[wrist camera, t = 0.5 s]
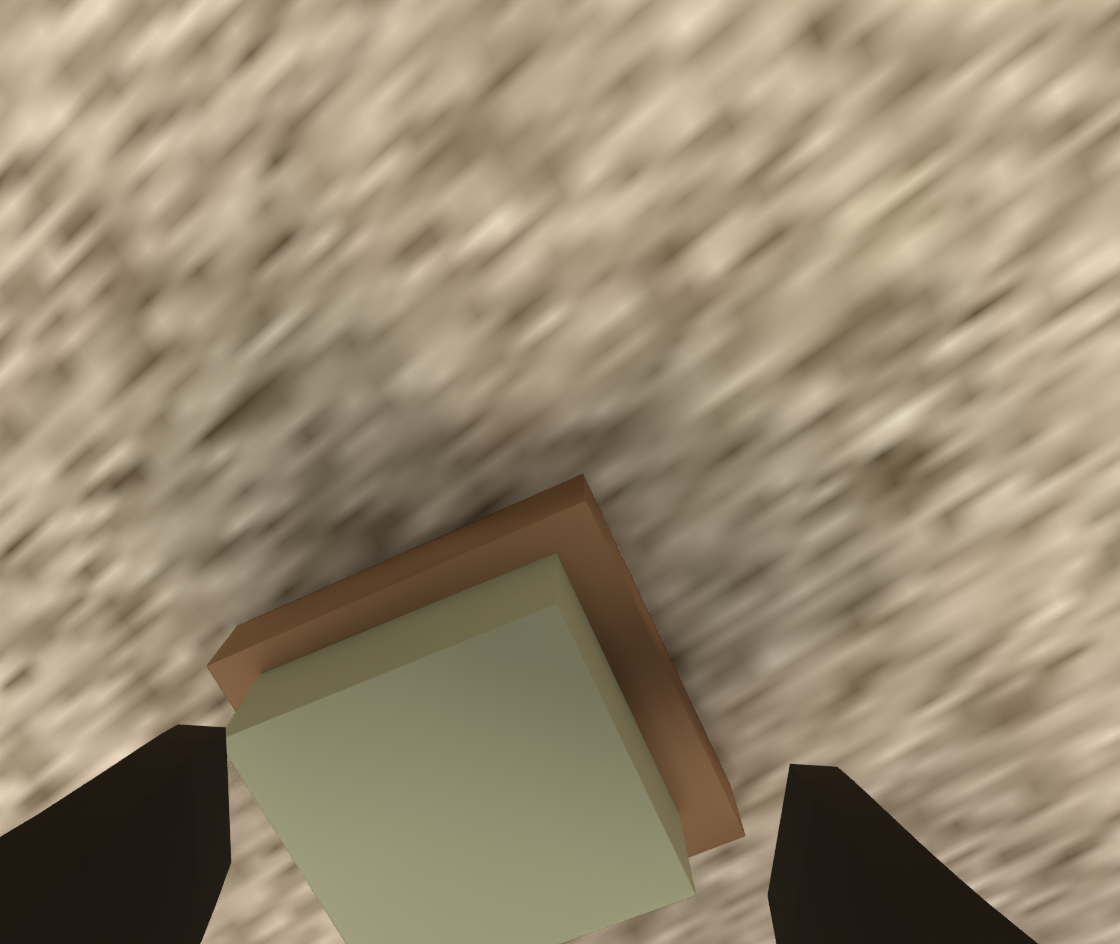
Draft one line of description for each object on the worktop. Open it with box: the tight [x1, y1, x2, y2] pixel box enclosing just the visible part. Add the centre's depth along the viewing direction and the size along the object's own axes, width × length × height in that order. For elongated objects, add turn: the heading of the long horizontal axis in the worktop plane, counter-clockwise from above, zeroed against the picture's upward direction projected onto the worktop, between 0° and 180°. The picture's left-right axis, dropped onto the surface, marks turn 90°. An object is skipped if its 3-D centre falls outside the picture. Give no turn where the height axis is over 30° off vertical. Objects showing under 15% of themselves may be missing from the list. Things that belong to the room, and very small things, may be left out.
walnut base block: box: [207, 474, 745, 857], centre depth 21 cm, size 9×9×2 cm
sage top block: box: [226, 553, 696, 944], centre depth 18 cm, size 7×7×2 cm
